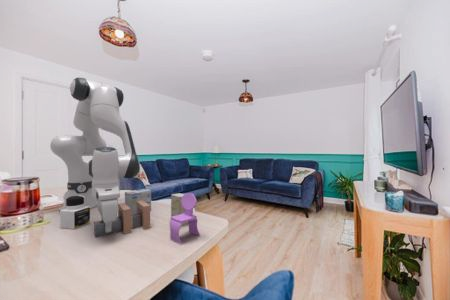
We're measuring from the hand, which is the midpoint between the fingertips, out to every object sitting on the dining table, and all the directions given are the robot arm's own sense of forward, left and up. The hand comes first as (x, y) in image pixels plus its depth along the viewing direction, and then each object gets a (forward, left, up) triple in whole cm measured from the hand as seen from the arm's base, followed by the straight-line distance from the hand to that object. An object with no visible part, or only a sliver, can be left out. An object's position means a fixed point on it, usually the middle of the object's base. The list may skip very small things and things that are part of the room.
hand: (106, 227), depth 74 cm
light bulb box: (-19, +16, -2) cm, 25 cm away
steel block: (0, +5, -2) cm, 6 cm away
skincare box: (+9, +25, -2) cm, 27 cm away
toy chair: (+22, +21, -2) cm, 31 cm away
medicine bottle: (-17, -9, -2) cm, 19 cm away
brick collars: (0, +10, -2) cm, 10 cm away
